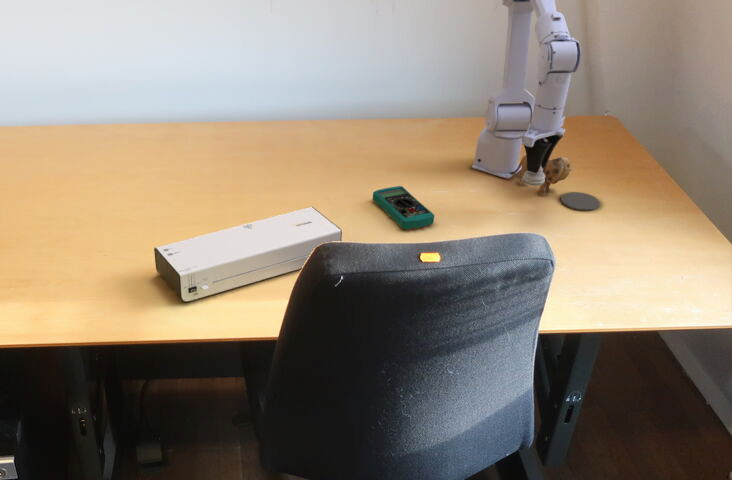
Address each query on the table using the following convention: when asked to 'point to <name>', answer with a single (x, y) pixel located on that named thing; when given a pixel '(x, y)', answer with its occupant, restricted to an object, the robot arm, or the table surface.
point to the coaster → (580, 201)
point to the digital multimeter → (403, 207)
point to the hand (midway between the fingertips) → (536, 168)
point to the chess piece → (534, 176)
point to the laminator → (243, 253)
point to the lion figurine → (548, 172)
